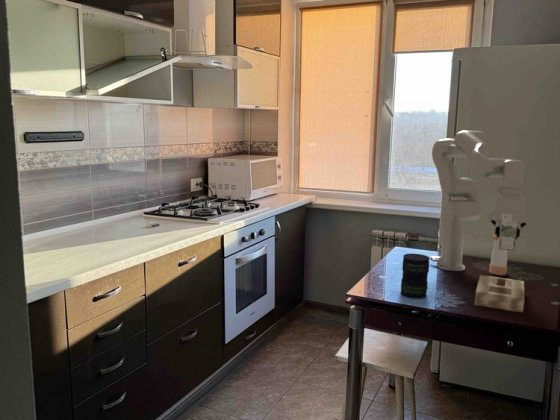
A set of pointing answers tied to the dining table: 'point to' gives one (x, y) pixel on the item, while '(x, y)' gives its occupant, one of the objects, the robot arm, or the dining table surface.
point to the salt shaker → (498, 259)
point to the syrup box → (507, 233)
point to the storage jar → (415, 276)
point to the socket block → (500, 293)
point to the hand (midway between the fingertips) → (506, 237)
